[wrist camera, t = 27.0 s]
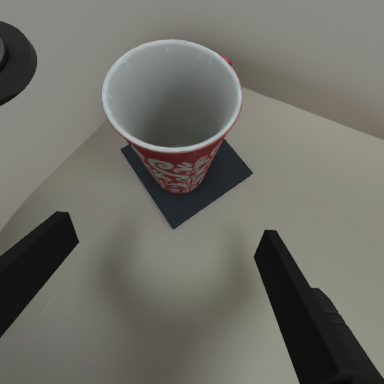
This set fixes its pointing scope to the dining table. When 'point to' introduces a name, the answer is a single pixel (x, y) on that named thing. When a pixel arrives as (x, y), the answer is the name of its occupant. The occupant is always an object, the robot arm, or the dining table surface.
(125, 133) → the mug
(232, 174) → the mat
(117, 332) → the dining table surface
